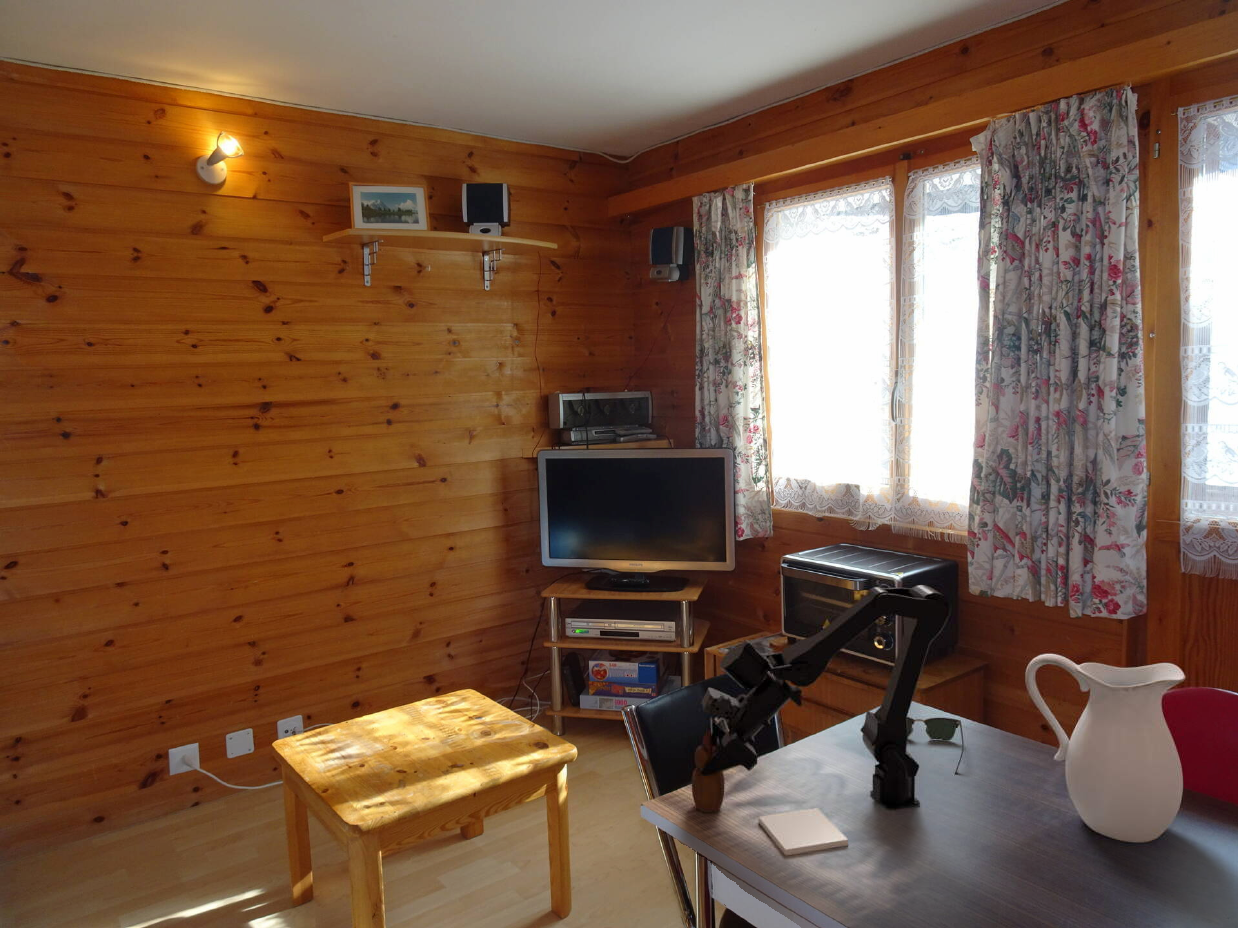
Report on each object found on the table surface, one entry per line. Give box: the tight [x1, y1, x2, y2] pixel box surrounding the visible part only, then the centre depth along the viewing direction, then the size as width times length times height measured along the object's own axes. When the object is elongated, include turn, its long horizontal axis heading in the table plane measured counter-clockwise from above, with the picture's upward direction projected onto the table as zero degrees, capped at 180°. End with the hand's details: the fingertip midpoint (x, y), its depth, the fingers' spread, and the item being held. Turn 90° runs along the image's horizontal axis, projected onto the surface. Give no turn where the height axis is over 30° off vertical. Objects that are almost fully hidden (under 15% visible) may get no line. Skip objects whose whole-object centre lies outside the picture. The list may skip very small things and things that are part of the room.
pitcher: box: [1024, 653, 1186, 843], centre depth 147 cm, size 24×17×28 cm
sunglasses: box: [907, 716, 965, 775], centre depth 176 cm, size 16×17×5 cm
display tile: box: [758, 807, 849, 856], centre depth 146 cm, size 11×11×1 cm
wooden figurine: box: [691, 729, 725, 813], centre depth 155 cm, size 7×6×15 cm
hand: (700, 766), depth 155 cm, fingers closed on wooden figurine, 5 cm apart
